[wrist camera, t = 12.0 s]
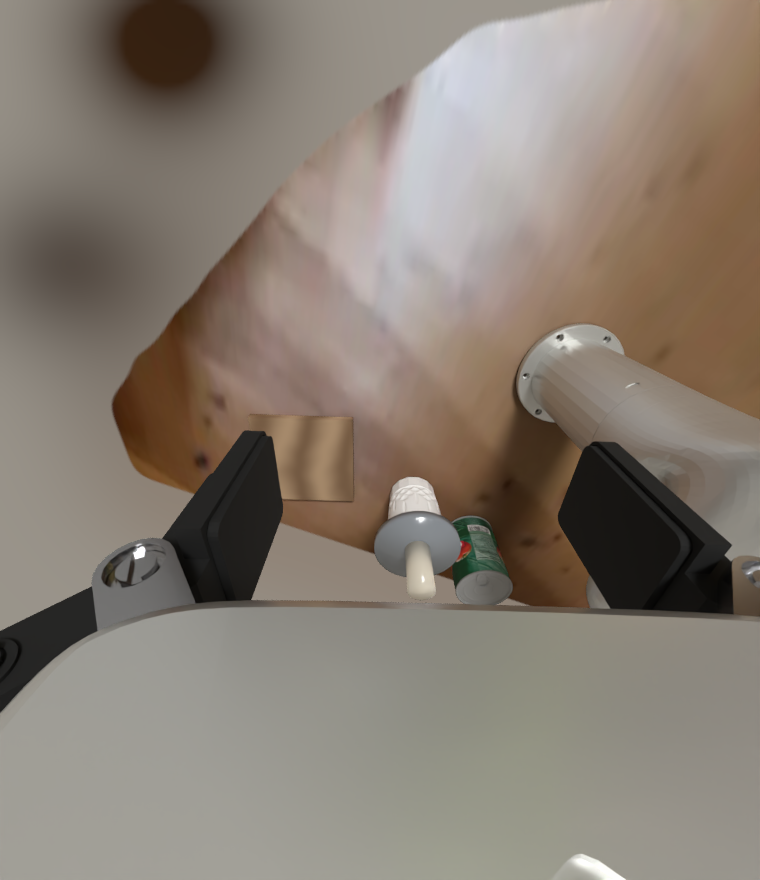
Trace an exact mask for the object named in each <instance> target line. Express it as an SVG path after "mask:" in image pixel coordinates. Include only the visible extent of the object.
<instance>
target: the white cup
mask: <svg viewBox="0 0 760 880" xmlns="http://www.w3.org/2000/svg"><path fill="white" fill-rule="evenodd" d="M410 511H427V512H432V513H436V514H439V515H441V513H440V510H439V506H438V503H437V500H436V498H435V495H434V491H433V487H432V486H431V485H430V484H429V483H428V481H426V480H424V479H421V478H419V477H407V478H404V479H401V480H399V481H398V482H397V483H396V484H395V485H394V486H393V487H392V490H391V493H390V503H389V514H388V519H390V518H392V517H394V516H396V515H398V514H401V513H405V512H410Z"/></svg>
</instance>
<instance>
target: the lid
mask: <svg viewBox="0 0 760 880" xmlns="http://www.w3.org/2000/svg"><path fill="white" fill-rule="evenodd" d="M374 551H375V556H376V558H377V560H378V562H379V563H380V564H381V565H382V566H383V567H384V568H385V569H386V570H388V571H390V572H391V573H394V574H396V575H399V576H403V577H407V592H408V595H409V596H410V597H411V598H413V599H415V600H427V599H429V598H431V597H433V596H434V595H435V593H436V588H435V581H434V575H436V574H439V573H441V572H443V571H445V570H446V569H448V568H449V567H450V566H452V565H453V564H454V562H455V561H456V560H457V558H458V556H459V554H460V551H461V542H460V538H459V535H458V531H457V529H456V527H455V526H454V525H453V524H452V523H451V522H450V521H449V520H448V519H446V518H445V517H443V516H441V515H439V514H436V513H432V512H427V511H410V512H405V513H401V514H398V515H396V516H394V517H392V518H390V519H388V520H387V521H386V522H384V523H383V524H382V525H381V527H380V528H379V529H378V531H377V533H376V536H375V544H374Z"/></svg>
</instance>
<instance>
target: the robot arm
mask: <svg viewBox="0 0 760 880" xmlns="http://www.w3.org/2000/svg"><path fill="white" fill-rule="evenodd" d="M558 335H559V336H558ZM557 336H558V337H557ZM556 337H557V338H556ZM525 373H526V374H525ZM524 374H525V375H524ZM523 375H524V376H523ZM516 388H517V394H518V397H519V400H520V402H521V403H522V405H523V406H524V408H525V409H526V410H527V411H528V412H529V413H530V414H531V415H533V416H534V417H536V418H538V419H540V420H543V421H547V422H555V423H556V424H557V425H558V426H559V427H560V428H561V429H562V430H563V431H564V432H565V434H566V435H567V436H568V437H569V438H570V439H571V440H572V441H573V442H574V443H575V444H576V445H577V447H578V448H579V449H580V450H581V451H582V454H581V457H580V459H579V462H578V464H577V467H576V469H575V472H574V475H573V477H572V480H571V482H570V485H569V487H568V490H567V493H566V495H565V498H564V500H563V503H562V505H561V508H560V511H559V514H558V521H559V524H560V526H561V528H562V530H563V531H564V533H565V535H566V536H567V538H568V540H569V541H570V543H571V545H572V546H573V548H574V550H575V551H576V553H577V554H578V556H579V558H580V559H581V561H582V563H583V564H584V566H585V568H586V569H587V571H588V573H589V574H590V576H589V578H588V581H587V585H586V595H587V599H588V603H589V606H590V608H572V607H542V606H508V605H473V604H437V603H396V602H395V603H394V602H352V601H288V600H287V601H286V600H284V601H283V600H280V601H279V600H277V601H276V600H251V599H252V596H253V593H254V591H255V588H256V585H257V582H258V579H259V577H260V574H261V572H262V569H263V566H264V563H265V561H266V558H267V555H268V552H269V550H270V547H271V544H272V542H273V539H274V536H275V534H276V531H277V528H278V525H279V523H280V520H281V517H282V513H283V503H282V496H281V489H280V483H279V476H278V470H277V463H276V456H275V450H274V443H273V438H272V437H271V436H267V435H266V432H264V431H244V432H243V433H242V434H241V435H240V437H239V438H238V440H237V441H236V442H235V444H234V445H233V446H232V448H231V449H230V451H229V452H228V453H227V455H226V456H225V457H224V459H223V460H222V462H221V463H220V464H219V466H218V467H217V468H216V470H215V471H214V473H212V474H210V475H209V476H208V477H207V478H206V480H205V481H204V483H203V484H202V485H201V487H200V488H199V489H198V491H197V492H196V493H195V495H194V496H193V498H192V499H191V500H190V502H189V503H188V504H187V506H186V507H185V508H184V510H183V511H182V512H181V514H180V515H179V517H178V518H177V519H176V521H175V522H174V523H173V525H172V526H171V528H170V529H169V530H168V531H167V533H166V534H165V536H164V537H163V538H162V539H160V538H147V539H141V540H137V541H134V542H131V543H128V544H126V545H124V546H122V547H121V548H118V549H117V550H115V551H114V552H112V553H111V554H110V555H108V556H107V557H106V558H105V559H104V560H103V561H102V562H101V563H100V564H99V565H98V566H97V568H96V570H95V572H94V573H93V577H92V587H90V588H88V589H86V590H83V591H81V592H79V593H77V594H75V595H73V596H72V597H69V598H67V599H65V600H63V601H61V602H59V603H57V604H55V605H53V606H51V607H49V608H47V609H44V610H43V611H40V612H38V613H36V614H34V615H32V616H30V617H28V618H26V619H24V620H22V621H20V622H18V623H16V624H14V625H12V626H10V627H8V628H6V629H4V630H2V631H0V880H760V419H757V418H754V417H751V416H749V415H747V414H745V413H742V412H740V411H738V410H736V409H733V408H731V407H729V406H727V405H724V404H722V403H720V402H718V401H715V400H713V399H711V398H709V397H707V396H705V395H703V394H701V393H699V392H697V391H695V390H693V389H691V388H689V387H687V386H685V385H682V384H680V383H678V382H676V381H674V380H672V379H670V378H668V377H666V376H664V375H662V374H660V373H658V372H656V371H654V370H652V369H650V368H648V367H646V366H644V365H642V364H640V363H638V362H636V361H634V360H632V359H630V358H628V357H626V356H625V355H624V350H623V347H622V345H621V343H620V341H619V340H618V339H617V338H616V336H615V335H614V334H612V333H611V332H609V331H608V330H607V329H604V328H602V327H600V326H596V325H592V324H582V323H578V324H572V325H567V326H564V327H561V328H558V329H556V330H554V331H552V332H550V333H549V334H547V335H546V336H544V337H543V338H541V339H540V340H539V341H538V342H537V343H536V344H535V345H534V346H533V347H532V348H531V349H530V350H529V352H528V353H527V354H526V356H525V357H524V359H523V361H522V363H521V365H520V367H519V370H518V374H517V380H516Z"/></svg>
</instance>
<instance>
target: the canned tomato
mask: <svg viewBox="0 0 760 880" xmlns="http://www.w3.org/2000/svg"><path fill="white" fill-rule="evenodd" d="M451 523H452V524H453V525H454V526H455V527H456V529H457V531H458V535H459V538H460V542H461V551H460V554H459V556H458V558H457V560H456V561H455V562H454V564H453V565H452V566H451V571H452V575H453V580H454V585H455V589H456V596H457V598H458V599H459V600H460V601H461V602H462V603H464V604H473V605H496V604H499V603H501V602H502V601H504V600H505V599H507V598H508V597H509V595H510V594H511V592H512V589H513V585H512V582H511V580H510V578H509V575H508V572H507V569H506V566H505V564H504V561H503V558H502V555H501V553H500V550H499V547H498V545H497V542H496V539H495V537H494V534H493V531H492V528H491V525H490V524H489V522H488V521H487V520H485V519H483V518H481V517H478V516H463V517H460V518H458V519H455V520H454V521H452V522H451Z"/></svg>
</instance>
